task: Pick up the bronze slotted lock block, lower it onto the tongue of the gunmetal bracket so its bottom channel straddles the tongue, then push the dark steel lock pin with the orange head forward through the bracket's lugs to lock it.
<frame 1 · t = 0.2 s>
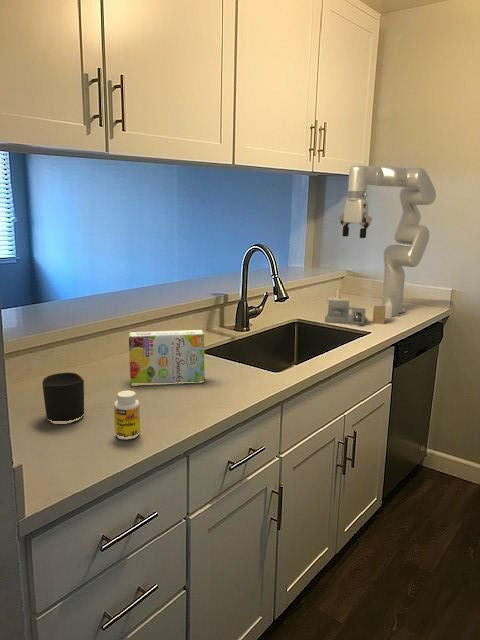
hand: (353, 237, 226), 36 cm above the worktop, tool pointing down, fingers open, 9 cm apart
lock block: (378, 321, 232), on the worktop
snack box: (167, 383, 154), on the worktop
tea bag: (390, 316, 244), on the worktop
supplement bottle: (127, 436, 120), on the worktop
bracket: (336, 319, 234), on the worktop
pen holder: (65, 418, 129), on the worktop
lock pin: (358, 315, 228), point 4 cm above the worktop, slide at 0.0 cm
pipe connector: (337, 310, 254), on the worktop
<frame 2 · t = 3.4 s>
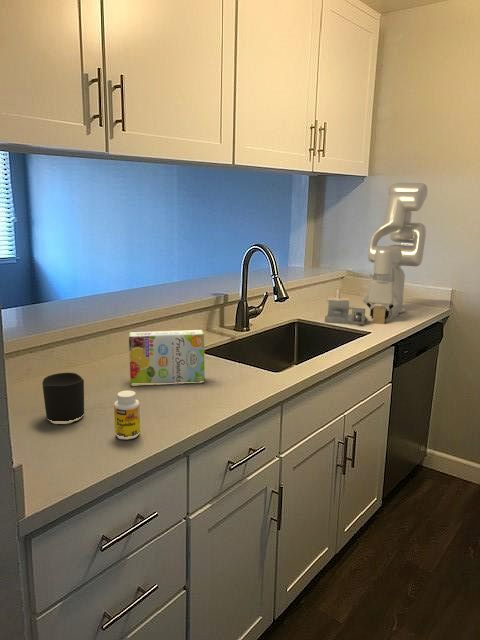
hand: (378, 317, 232), 2 cm above the worktop, tool pointing down, fingers closed on lock block, 5 cm apart
lock block: (378, 321, 232), on the worktop, touching gripper
everything else where it was.
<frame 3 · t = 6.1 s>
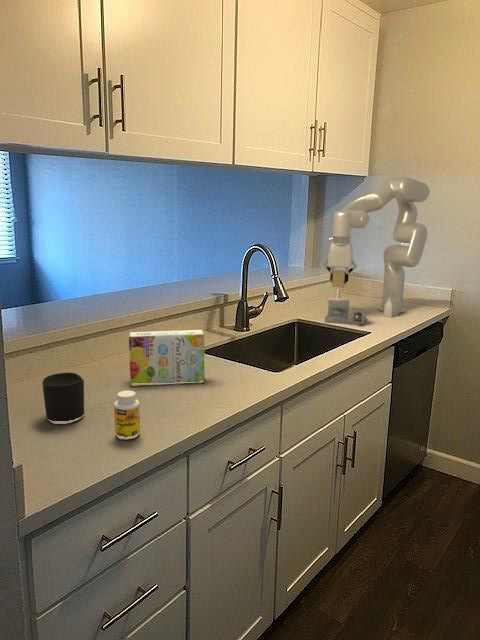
hand: (339, 282, 230), 17 cm above the worktop, tool pointing down, fingers closed on lock block, 5 cm apart
lock block: (338, 286, 231), point 15 cm above the worktop, touching gripper
everything else where it was.
when the fingers open (4 cm above the worktop, at t = 8.7 s): lock block drops 1 cm, resting on bracket.
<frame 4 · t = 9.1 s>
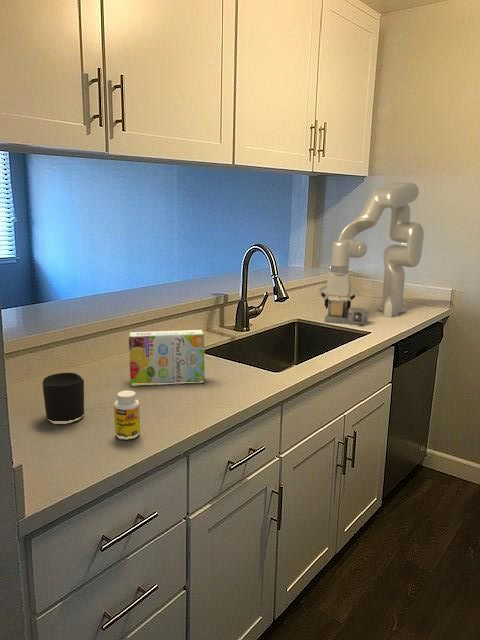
hand: (337, 308, 233), 5 cm above the worktop, tool pointing down, fingers open, 8 cm apart
lock block: (337, 316, 234), point 1 cm above the worktop, touching bracket
everything else where it was.
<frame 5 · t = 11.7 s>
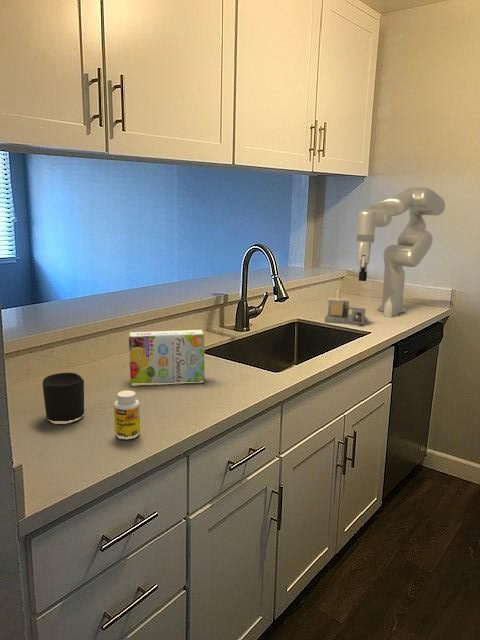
hand: (362, 280, 236), 17 cm above the worktop, tool pointing down, fingers closed
nothing on the worktop moved.
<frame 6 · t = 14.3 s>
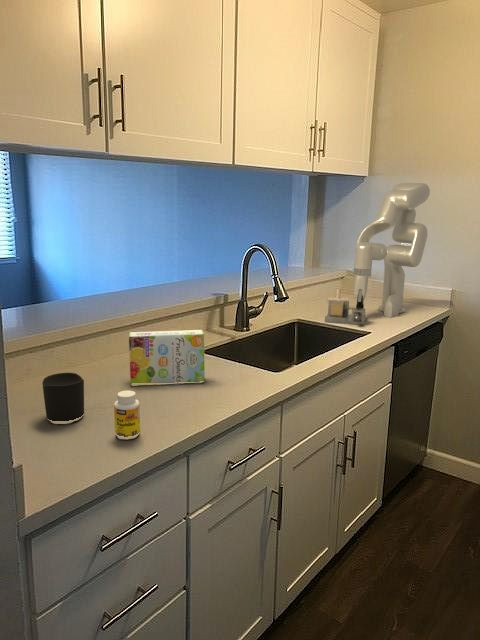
hand: (359, 313, 236), 3 cm above the worktop, tool pointing down, fingers closed
lock pin: (358, 315, 227), point 4 cm above the worktop, slide at 1.1 cm, touching gripper
everything else where it was.
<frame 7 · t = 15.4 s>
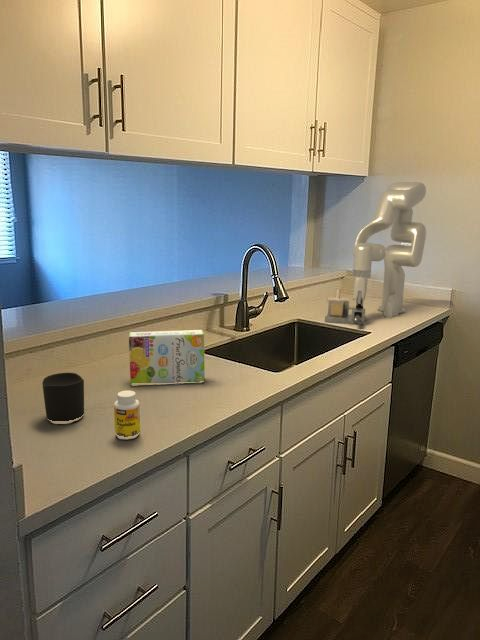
hand: (358, 315, 232), 3 cm above the worktop, tool pointing down, fingers closed
lock pin: (357, 317, 223), point 4 cm above the worktop, slide at 5.0 cm, touching bracket, gripper
everything else where it was.
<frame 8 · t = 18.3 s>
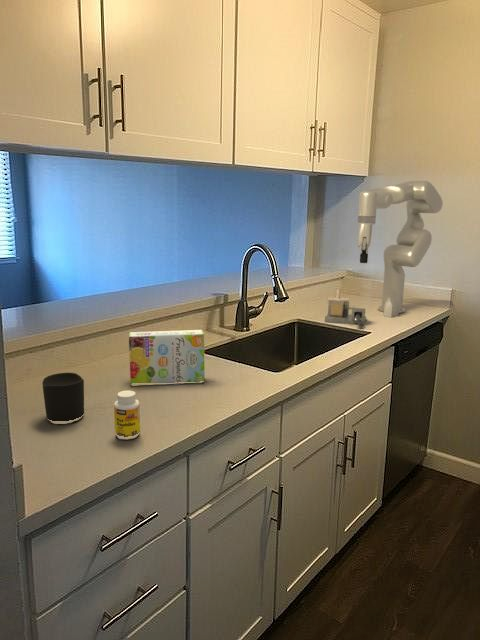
hand: (363, 262, 232), 25 cm above the worktop, tool pointing down, fingers closed
lock pin: (357, 317, 223), point 4 cm above the worktop, slide at 5.0 cm, touching bracket
everything else where it was.
at the end: lock block 0.1 cm off-centre on the bracket, point 1.5 cm above the bracket's base; lock block tilted 0°; lock pin slide at 5.0 cm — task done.
